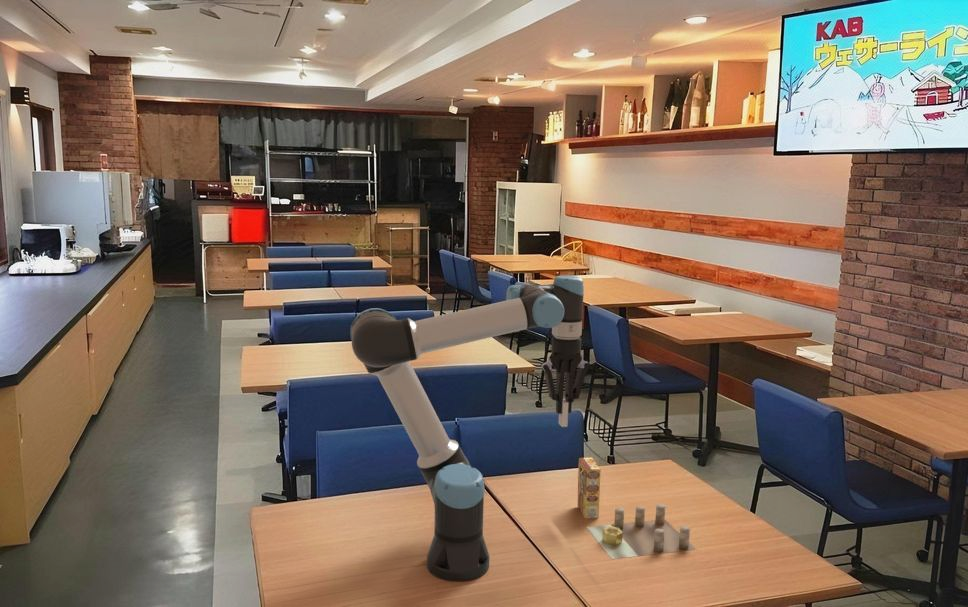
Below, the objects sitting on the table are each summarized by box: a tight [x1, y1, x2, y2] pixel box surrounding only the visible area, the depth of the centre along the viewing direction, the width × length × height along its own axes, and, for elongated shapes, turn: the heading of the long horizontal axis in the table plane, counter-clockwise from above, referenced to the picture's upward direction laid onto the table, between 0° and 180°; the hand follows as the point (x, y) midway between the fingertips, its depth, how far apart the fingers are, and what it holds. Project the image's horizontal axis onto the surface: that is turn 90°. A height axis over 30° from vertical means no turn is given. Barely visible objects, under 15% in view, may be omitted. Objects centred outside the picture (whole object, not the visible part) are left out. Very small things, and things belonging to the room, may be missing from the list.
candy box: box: [576, 457, 602, 519], centre depth 205 cm, size 9×4×15 cm, turn 8°
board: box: [586, 503, 698, 560], centre depth 190 cm, size 23×17×6 cm
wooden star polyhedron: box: [602, 526, 623, 546], centre depth 189 cm, size 4×5×3 cm
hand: (562, 424), depth 192 cm, fingers closed
